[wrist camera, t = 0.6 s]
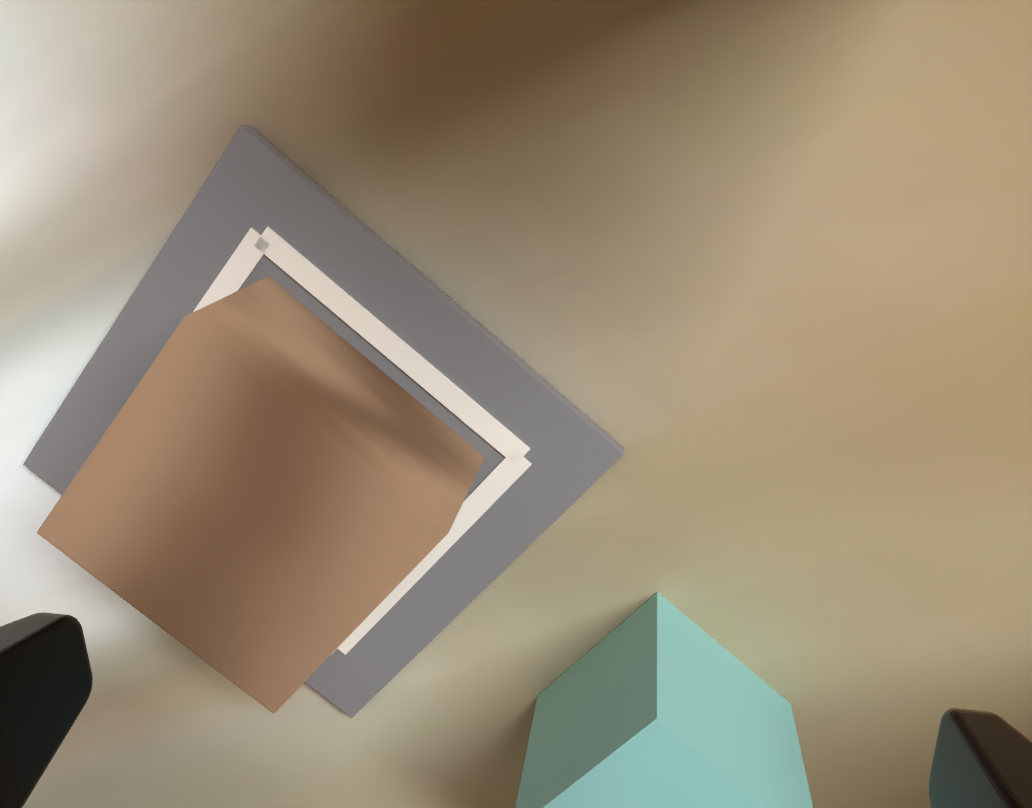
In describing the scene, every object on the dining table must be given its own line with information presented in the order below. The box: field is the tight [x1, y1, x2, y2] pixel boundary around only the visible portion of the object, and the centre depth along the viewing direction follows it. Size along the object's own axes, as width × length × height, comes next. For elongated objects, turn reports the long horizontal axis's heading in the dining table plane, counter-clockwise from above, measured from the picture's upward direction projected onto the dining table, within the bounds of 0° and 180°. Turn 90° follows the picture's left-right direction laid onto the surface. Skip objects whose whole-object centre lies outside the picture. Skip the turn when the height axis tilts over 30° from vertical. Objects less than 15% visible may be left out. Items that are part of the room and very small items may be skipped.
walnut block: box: [37, 276, 484, 714], centre depth 21 cm, size 7×7×4 cm
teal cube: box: [515, 592, 813, 808], centre depth 22 cm, size 5×5×5 cm
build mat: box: [24, 125, 624, 718], centre depth 23 cm, size 12×12×1 cm
